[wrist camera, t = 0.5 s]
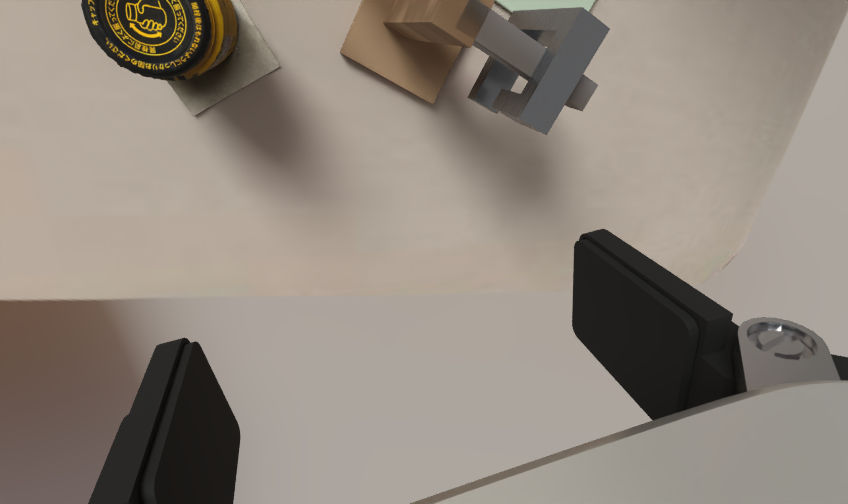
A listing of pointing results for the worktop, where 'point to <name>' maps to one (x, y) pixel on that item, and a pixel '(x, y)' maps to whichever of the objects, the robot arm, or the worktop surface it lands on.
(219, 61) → the condiment
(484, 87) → the link
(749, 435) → the robot arm
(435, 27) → the stand
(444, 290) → the worktop surface
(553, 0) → the mat
